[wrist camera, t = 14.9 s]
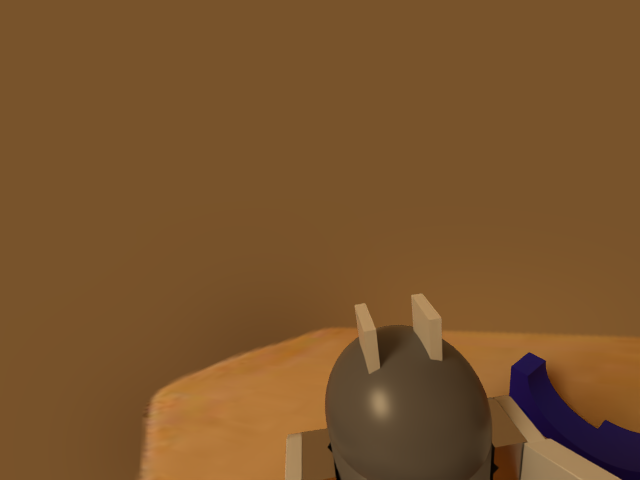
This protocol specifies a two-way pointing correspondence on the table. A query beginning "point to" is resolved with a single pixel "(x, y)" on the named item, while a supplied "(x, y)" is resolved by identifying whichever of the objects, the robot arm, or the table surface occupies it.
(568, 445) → the blue u-shaped bracket
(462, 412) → the charger plug
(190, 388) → the table surface
